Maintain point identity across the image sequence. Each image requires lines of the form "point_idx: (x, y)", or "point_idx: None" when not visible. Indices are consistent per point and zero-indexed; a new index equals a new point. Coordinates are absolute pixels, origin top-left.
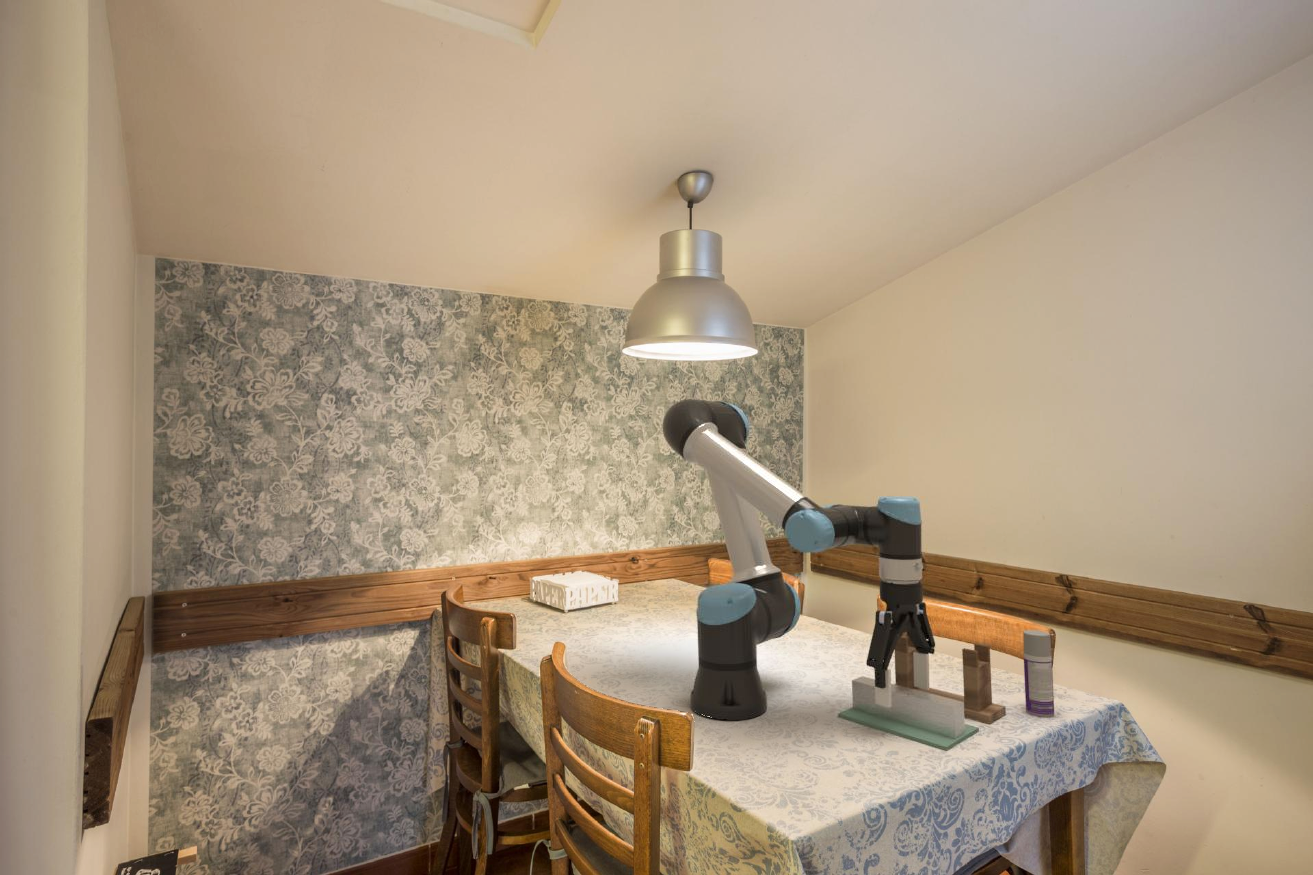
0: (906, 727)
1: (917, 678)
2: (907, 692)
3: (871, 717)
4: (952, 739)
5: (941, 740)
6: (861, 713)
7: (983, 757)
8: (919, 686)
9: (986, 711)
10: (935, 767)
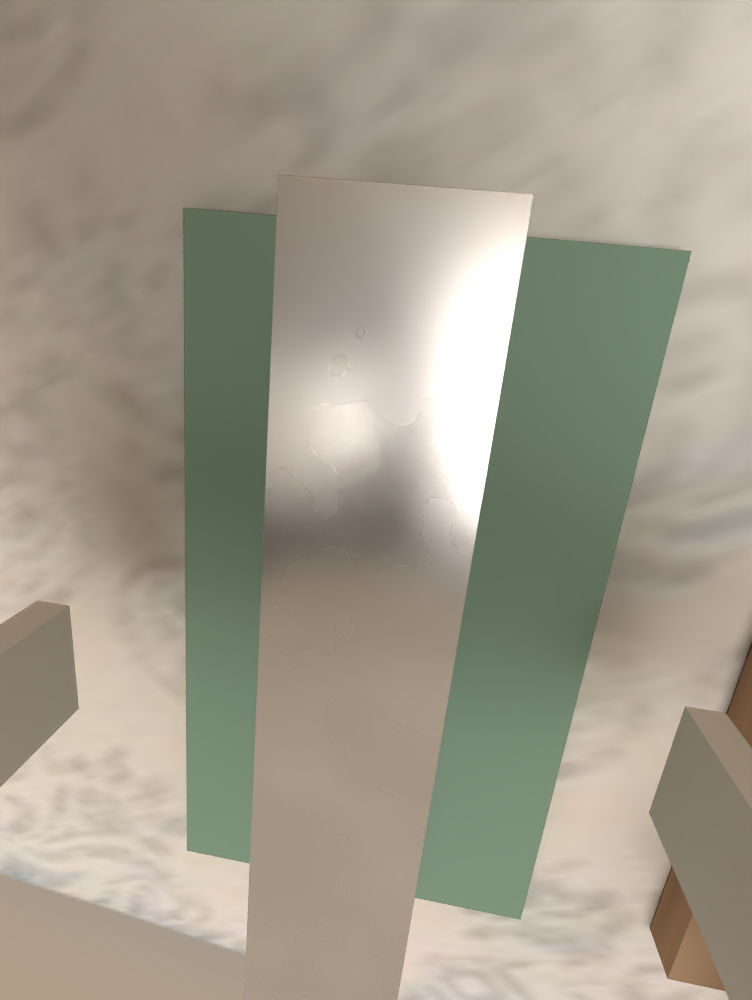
0: None
1: (713, 808)
2: (308, 788)
3: None
4: None
5: (240, 821)
6: None
7: (239, 942)
8: (674, 760)
9: None
10: (24, 831)
